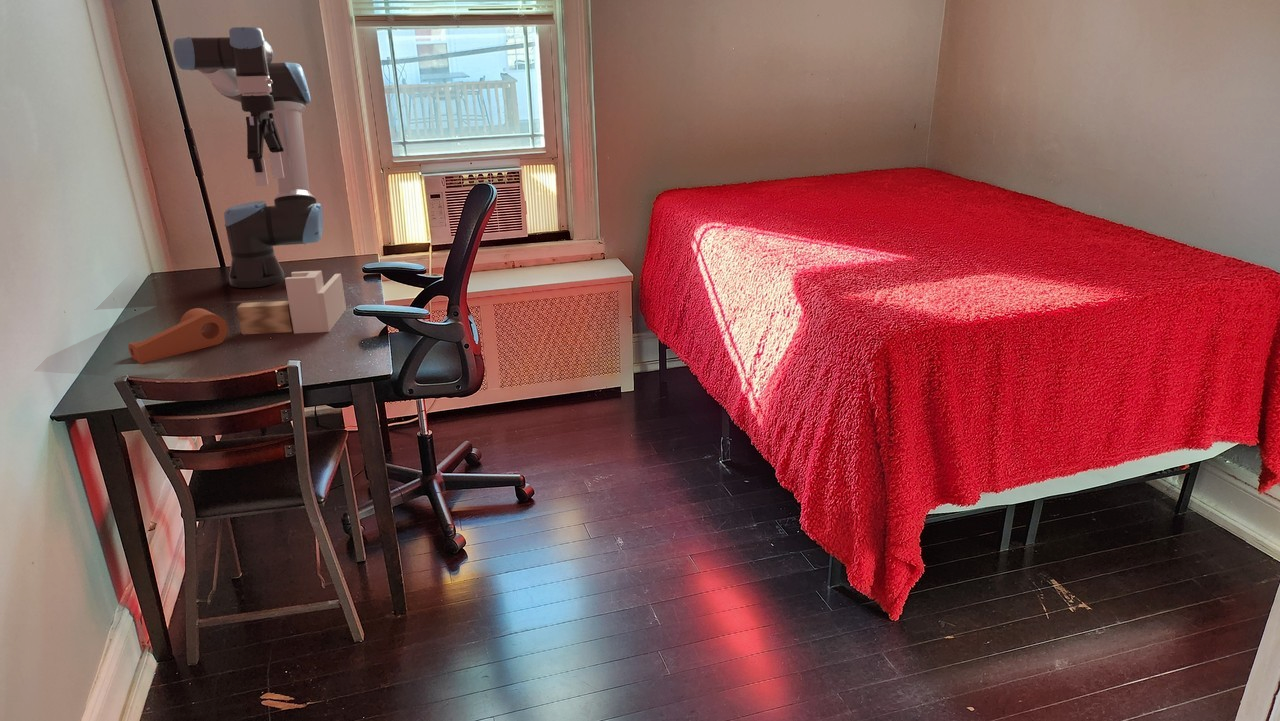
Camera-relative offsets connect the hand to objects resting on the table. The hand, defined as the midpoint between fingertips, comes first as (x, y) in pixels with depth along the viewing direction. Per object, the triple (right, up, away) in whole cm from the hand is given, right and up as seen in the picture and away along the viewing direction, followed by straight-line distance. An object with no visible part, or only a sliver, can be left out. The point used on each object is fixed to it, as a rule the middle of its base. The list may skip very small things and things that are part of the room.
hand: (270, 181), depth 213 cm
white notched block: (+11, -35, +4) cm, 37 cm away
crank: (-15, -43, -14) cm, 48 cm away
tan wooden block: (+2, -38, -3) cm, 38 cm away
